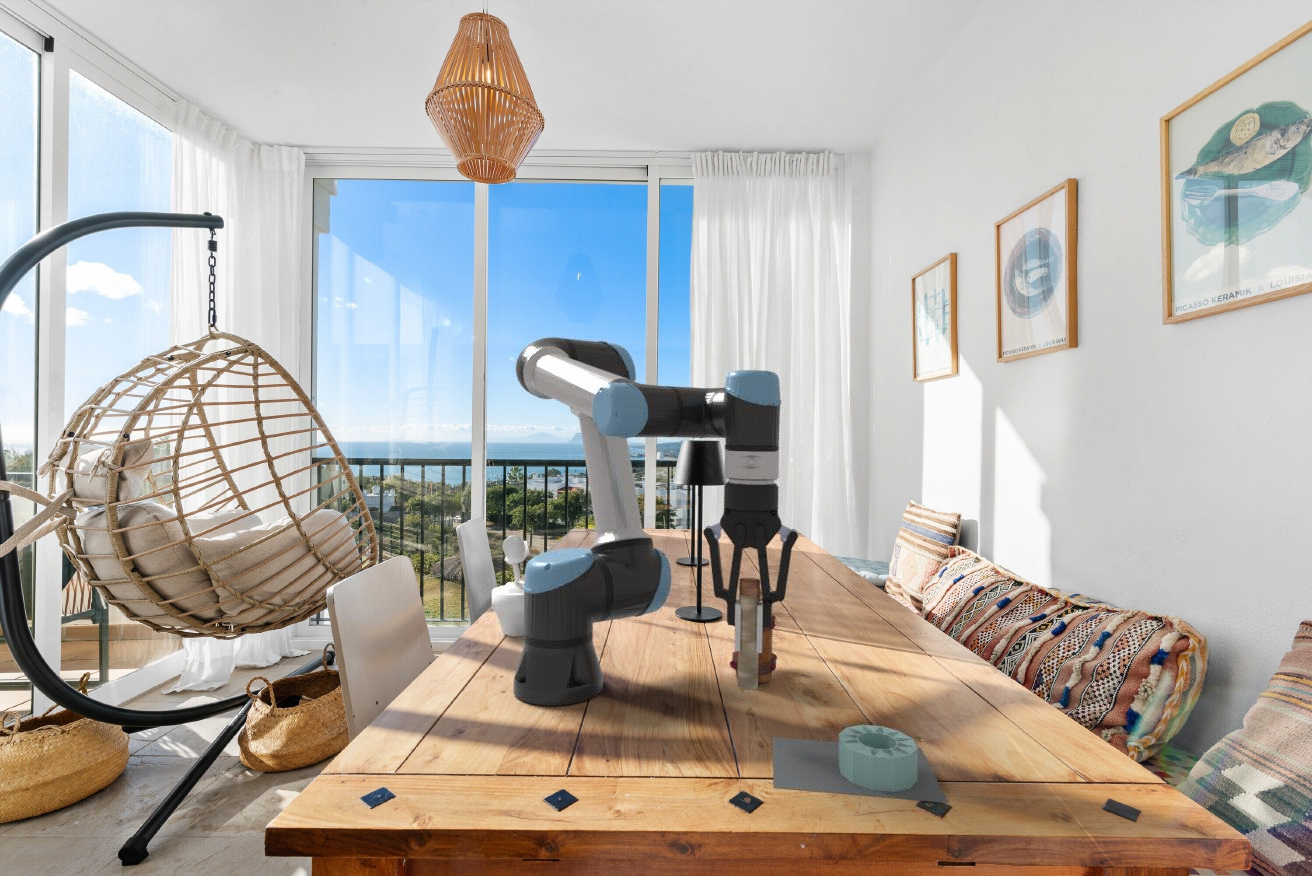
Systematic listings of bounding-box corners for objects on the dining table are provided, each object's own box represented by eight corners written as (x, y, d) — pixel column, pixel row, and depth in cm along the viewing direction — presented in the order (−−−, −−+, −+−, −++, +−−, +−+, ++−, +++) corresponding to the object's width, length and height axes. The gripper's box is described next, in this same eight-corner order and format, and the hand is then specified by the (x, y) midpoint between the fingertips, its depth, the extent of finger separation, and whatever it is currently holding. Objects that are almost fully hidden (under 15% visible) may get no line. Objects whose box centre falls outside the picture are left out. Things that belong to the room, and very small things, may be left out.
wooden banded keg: (776, 691, 113) (776, 602, 114) (728, 687, 115) (728, 600, 115) (778, 663, 128) (778, 584, 128) (735, 660, 129) (735, 582, 129)
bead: (843, 787, 80) (843, 754, 80) (835, 752, 90) (835, 723, 90) (923, 794, 79) (923, 760, 79) (907, 758, 88) (907, 727, 88)
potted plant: (534, 642, 141) (535, 524, 141) (482, 639, 142) (483, 523, 143) (553, 626, 153) (553, 517, 153) (505, 624, 155) (505, 516, 155)
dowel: (737, 689, 92) (739, 581, 92) (737, 681, 95) (740, 577, 95) (757, 691, 92) (759, 582, 92) (757, 683, 95) (760, 578, 94)
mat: (773, 792, 80) (773, 787, 80) (772, 741, 94) (772, 737, 94) (948, 807, 77) (948, 802, 77) (920, 752, 91) (920, 748, 91)
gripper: (693, 481, 91) (690, 653, 91) (809, 485, 88) (806, 662, 88) (699, 478, 98) (696, 637, 98) (806, 481, 95) (803, 644, 96)
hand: (748, 648), depth 93 cm, fingers closed on dowel, 2 cm apart
